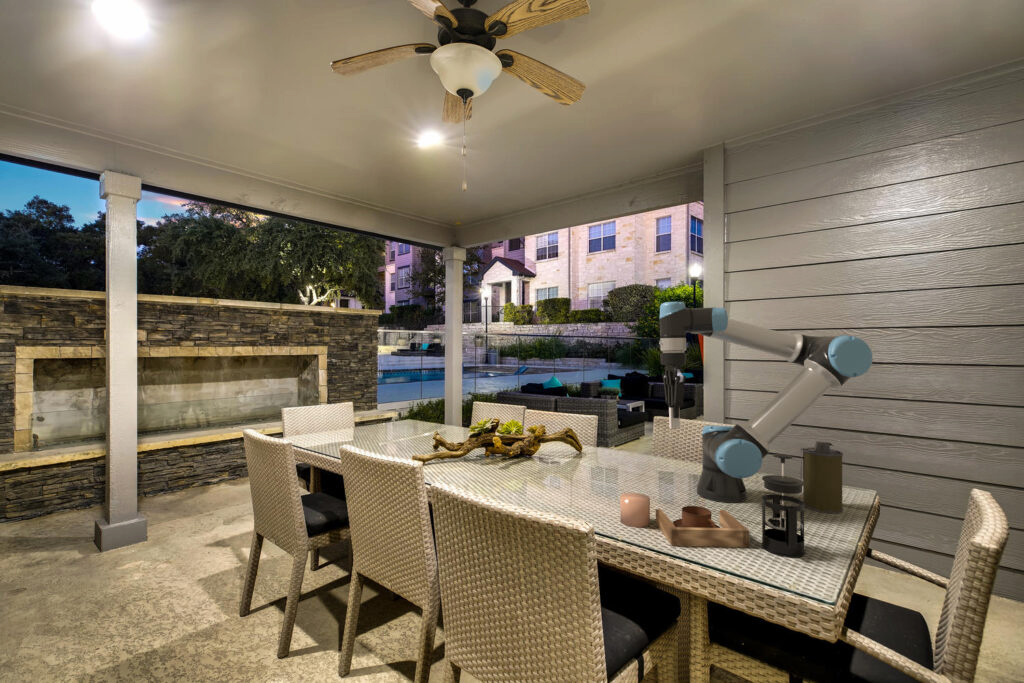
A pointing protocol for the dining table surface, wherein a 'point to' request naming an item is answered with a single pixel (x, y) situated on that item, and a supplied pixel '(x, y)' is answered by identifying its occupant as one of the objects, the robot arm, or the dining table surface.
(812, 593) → the dining table surface
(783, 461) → the french press
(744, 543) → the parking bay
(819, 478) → the canister
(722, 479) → the robot arm
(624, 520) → the peach rounded capsule
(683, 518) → the cup and saucer
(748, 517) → the dining table surface
